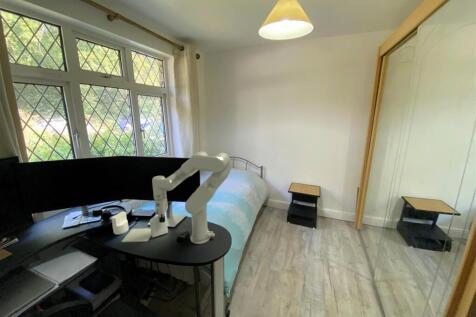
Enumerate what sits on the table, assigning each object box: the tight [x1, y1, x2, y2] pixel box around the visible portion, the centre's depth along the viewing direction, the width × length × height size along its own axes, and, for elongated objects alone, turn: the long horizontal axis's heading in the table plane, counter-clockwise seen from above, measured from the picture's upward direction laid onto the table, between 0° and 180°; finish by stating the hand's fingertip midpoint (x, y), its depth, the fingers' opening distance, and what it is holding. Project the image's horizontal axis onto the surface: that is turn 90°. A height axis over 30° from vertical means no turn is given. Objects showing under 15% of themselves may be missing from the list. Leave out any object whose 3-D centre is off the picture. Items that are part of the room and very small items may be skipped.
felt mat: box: [121, 227, 152, 243], centre depth 131 cm, size 16×14×1 cm
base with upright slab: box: [111, 211, 130, 235], centre depth 135 cm, size 9×9×12 cm
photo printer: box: [149, 215, 169, 238], centre depth 131 cm, size 10×4×12 cm, turn 123°
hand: (162, 221), depth 129 cm, fingers closed
